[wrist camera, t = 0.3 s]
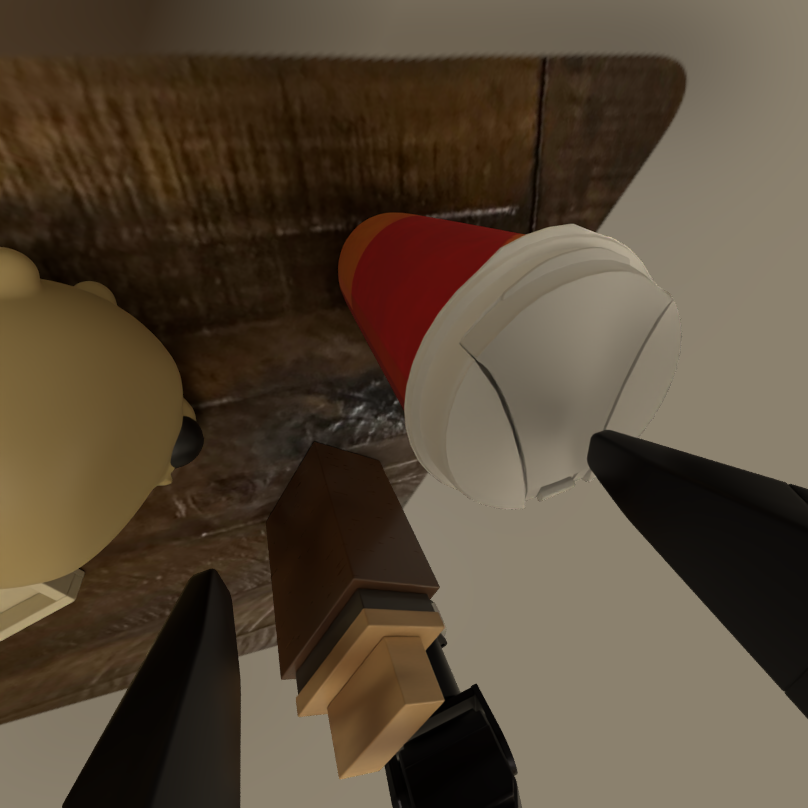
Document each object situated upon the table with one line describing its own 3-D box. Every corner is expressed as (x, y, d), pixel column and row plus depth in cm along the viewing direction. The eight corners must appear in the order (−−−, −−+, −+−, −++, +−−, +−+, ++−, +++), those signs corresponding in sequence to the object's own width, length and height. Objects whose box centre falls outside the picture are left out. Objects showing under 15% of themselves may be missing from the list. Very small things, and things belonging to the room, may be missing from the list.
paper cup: (459, 320, 24) (658, 469, 13) (335, 355, 22) (439, 560, 11) (452, 170, 19) (747, 199, 8) (295, 200, 18) (403, 285, 7)
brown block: (331, 533, 29) (368, 675, 21) (265, 522, 27) (280, 680, 19) (379, 460, 27) (440, 587, 19) (314, 440, 25) (353, 579, 17)
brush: (366, 671, 21) (393, 774, 18) (292, 675, 19) (306, 794, 15) (430, 592, 19) (474, 689, 16) (357, 585, 17) (389, 697, 14)
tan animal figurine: (2, 368, 20) (51, 576, 19) (-480, 234, 8) (-425, 752, 7) (202, 317, 22) (258, 505, 21) (29, 144, 10) (136, 555, 9)
